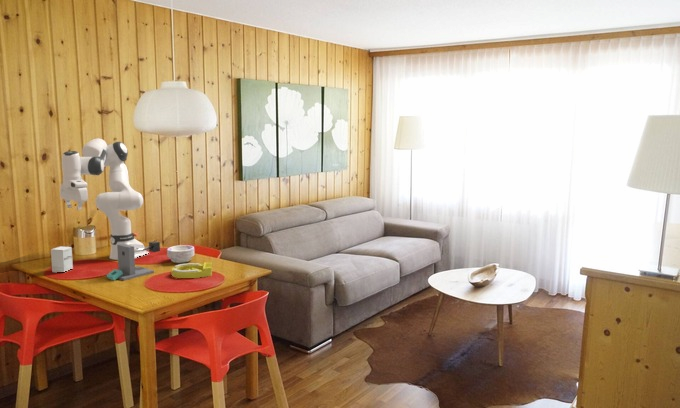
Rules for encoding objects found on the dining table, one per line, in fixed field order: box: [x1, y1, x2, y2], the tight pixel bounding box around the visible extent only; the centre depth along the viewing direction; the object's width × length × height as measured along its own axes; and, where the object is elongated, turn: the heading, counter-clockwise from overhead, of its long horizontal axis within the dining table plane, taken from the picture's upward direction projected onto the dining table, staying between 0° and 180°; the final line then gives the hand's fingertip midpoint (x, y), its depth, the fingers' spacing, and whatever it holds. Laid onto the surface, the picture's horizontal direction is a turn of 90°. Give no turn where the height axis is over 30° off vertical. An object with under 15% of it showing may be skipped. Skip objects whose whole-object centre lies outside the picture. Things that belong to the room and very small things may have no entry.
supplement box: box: [50, 245, 74, 273], centre depth 286 cm, size 7×7×13 cm
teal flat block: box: [106, 268, 123, 281], centre depth 275 cm, size 2×6×6 cm
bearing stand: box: [107, 244, 155, 281], centre depth 282 cm, size 18×14×16 cm
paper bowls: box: [166, 244, 195, 264], centre depth 310 cm, size 15×15×8 cm
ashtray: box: [170, 261, 213, 279], centre depth 285 cm, size 16×21×5 cm
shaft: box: [134, 240, 161, 253], centre depth 287 cm, size 20×4×5 cm, turn 146°
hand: (74, 208), depth 281 cm, fingers open, 8 cm apart
